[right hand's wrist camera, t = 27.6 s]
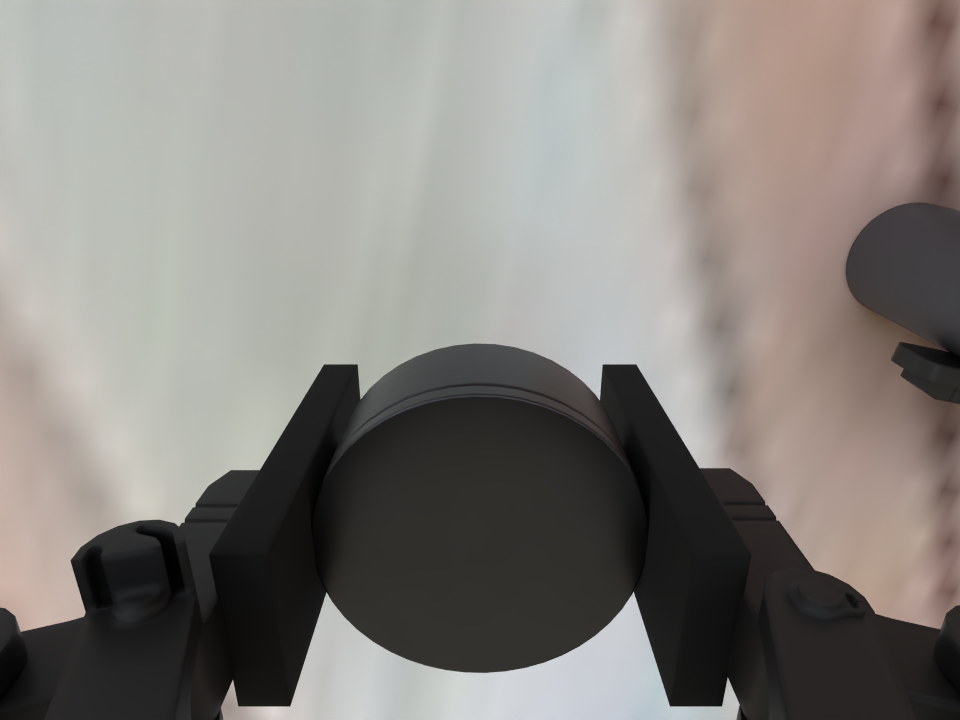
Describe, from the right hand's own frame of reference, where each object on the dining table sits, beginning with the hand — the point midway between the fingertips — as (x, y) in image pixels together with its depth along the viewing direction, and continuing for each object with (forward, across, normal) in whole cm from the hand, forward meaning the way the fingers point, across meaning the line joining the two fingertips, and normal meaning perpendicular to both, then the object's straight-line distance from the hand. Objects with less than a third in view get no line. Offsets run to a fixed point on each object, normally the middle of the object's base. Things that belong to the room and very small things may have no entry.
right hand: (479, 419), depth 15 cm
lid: (-4, 0, 0) cm, 4 cm away
